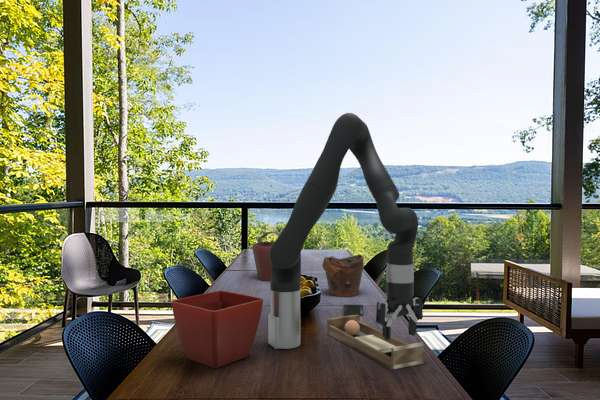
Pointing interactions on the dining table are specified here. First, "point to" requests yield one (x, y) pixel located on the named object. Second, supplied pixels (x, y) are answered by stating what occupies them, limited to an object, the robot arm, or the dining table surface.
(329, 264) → the terracotta flower pot
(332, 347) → the dining table surface
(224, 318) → the plant pot
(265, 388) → the dining table surface
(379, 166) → the robot arm
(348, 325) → the ball
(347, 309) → the phone
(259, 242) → the bucket
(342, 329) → the track
